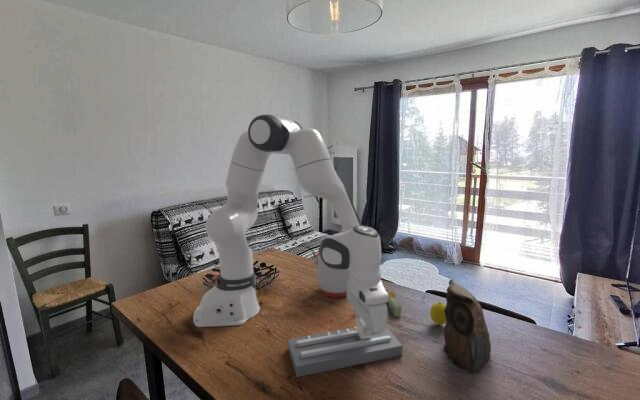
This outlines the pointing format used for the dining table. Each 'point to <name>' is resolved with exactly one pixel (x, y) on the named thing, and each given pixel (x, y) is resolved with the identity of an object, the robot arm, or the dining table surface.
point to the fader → (361, 329)
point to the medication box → (394, 304)
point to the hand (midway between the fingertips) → (364, 329)
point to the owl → (465, 330)
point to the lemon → (438, 313)
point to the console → (340, 350)
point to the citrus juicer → (331, 279)
